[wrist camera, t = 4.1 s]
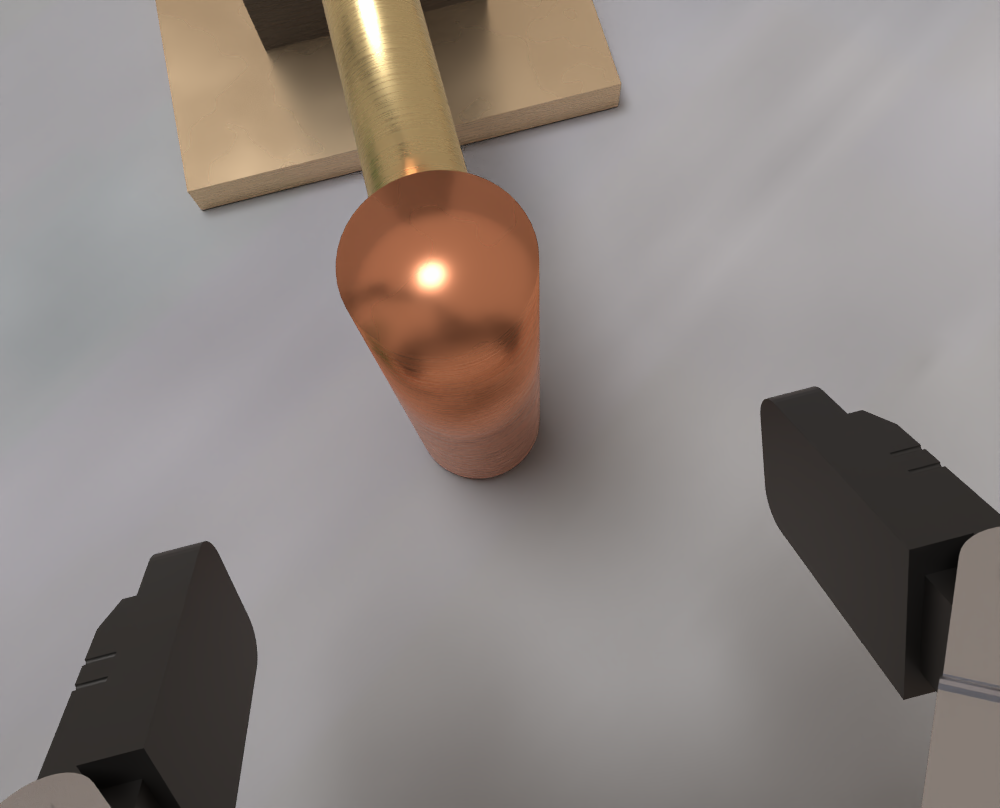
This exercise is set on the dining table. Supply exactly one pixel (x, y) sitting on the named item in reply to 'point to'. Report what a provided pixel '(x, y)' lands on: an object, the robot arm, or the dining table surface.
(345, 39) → the copper and brass hammer
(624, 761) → the dining table surface
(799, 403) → the robot arm
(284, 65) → the slotted upright stand
